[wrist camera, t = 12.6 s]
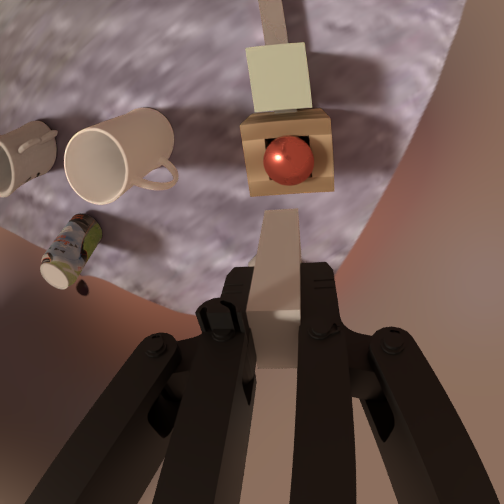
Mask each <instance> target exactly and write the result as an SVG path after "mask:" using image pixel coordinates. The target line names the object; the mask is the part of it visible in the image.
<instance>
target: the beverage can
mask: <svg viewBox="0 0 504 504" xmlns="http://www.w3.org/2000/svg"><path fill="white" fill-rule="evenodd" d="M101 238H102V230H101V228H100V226H99V224H98V223H97V222H96V221H95V220H94V219H93V218H92V217H90V216H88V215H86V214H76V215H74V216H73V217H72V219H71V220H70V221H69V222H68V224H67V225H66V226H65V227H64V229H63V230H62V231H61V233H60V234H59V235H58V236H57V238H56V239H55V240H54V242H53V243H52V244H51V246H50V247H49V249H48V250H47V251H46V253H45V254H44V256H43V257H42V261H41V267H40V271H41V274H42V276H43V277H44V279H45V280H46V281H47V282H48V283H49V284H51V285H52V286H54V287H56V288H59V289H66V288H67V287H68V286H70V285H72V284H73V283H74V282H75V281H76V279H77V277H78V276H79V274H80V273H81V271H82V269H83V268H84V266H85V264H86V263H87V261H88V259H89V258H90V256H91V254H92V253H93V251H94V250H95V248H96V247H97V245H98V243H99V242H100V240H101Z"/></svg>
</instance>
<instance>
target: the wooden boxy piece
mask: <svg viewBox="0 0 504 504" xmlns="http://www.w3.org/2000/svg"><path fill="white" fill-rule="evenodd" d="M240 131H241V138H242V144H243V151H244V158H245V164H246V171H247V177H248V184H249V191H250V197H254V196H267V195H281V194H296V193H313V192H333V191H334V162H333V144H332V131H331V120H330V117H329V116H328V115H327V114H326V113H325V112H324V111H323V110H322V109H321V108H315V109H298V110H297V112H287V113H276V114H275V111H274V112H263V113H254V114H251V115H250V116H249V117H248V118H247V119H246V120H245V121H244V122H243V123H242V124H241V125H240ZM286 135H291V136H300V137H301V139H302V140H304V141H305V142H306V143H307V144H308V145H309V147H310V148H311V150H312V153H313V157H314V167H313V171H312V173H311V174H310V176H309V177H308V178H307V179H306V180H305V181H303V182H302V183H300V184H297V185H292V186H286V185H281V184H279V183H277V182H275V181H273V180H272V179H271V178H270V177H269V176H268V174H267V173H266V171H265V168H264V164H263V158H264V154H265V151H266V149H267V147H268V145H269V144H270V143H271V142H272V141H273V140H274V139H276V138H278V137H281V136H286Z"/></svg>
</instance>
